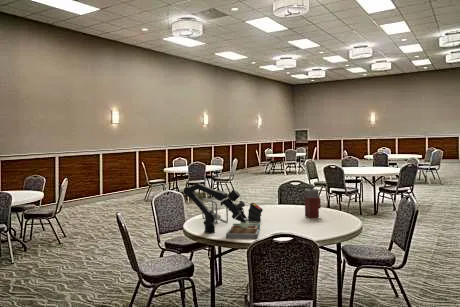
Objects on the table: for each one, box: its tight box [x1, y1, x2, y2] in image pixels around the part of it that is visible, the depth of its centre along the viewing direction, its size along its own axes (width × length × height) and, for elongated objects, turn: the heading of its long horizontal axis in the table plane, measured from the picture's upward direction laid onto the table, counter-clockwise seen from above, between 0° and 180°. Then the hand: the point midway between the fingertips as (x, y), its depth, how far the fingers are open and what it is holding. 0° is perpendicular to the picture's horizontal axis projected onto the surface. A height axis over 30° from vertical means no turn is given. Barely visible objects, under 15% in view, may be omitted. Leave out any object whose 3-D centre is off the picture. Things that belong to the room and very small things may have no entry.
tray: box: [230, 222, 261, 234], centre depth 288 cm, size 20×16×4 cm
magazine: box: [247, 202, 264, 223], centre depth 325 cm, size 4×13×15 cm, turn 47°
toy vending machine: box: [304, 183, 322, 219], centre depth 337 cm, size 9×11×28 cm
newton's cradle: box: [201, 196, 229, 225], centre depth 333 cm, size 30×10×18 cm, turn 26°
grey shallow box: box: [225, 228, 260, 240], centre depth 277 cm, size 21×14×3 cm, turn 80°
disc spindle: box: [239, 217, 249, 228], centre depth 285 cm, size 6×6×9 cm
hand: (246, 221), depth 284 cm, fingers open, 9 cm apart
